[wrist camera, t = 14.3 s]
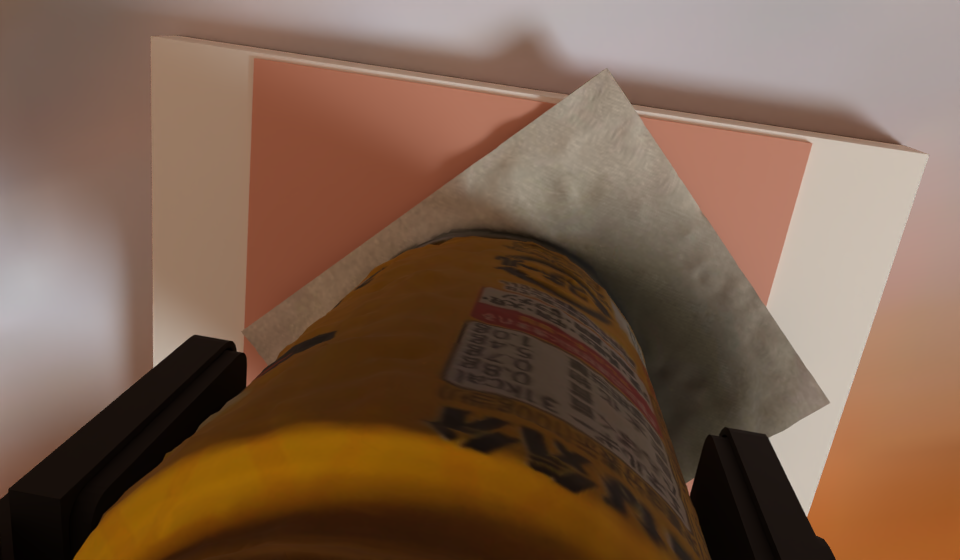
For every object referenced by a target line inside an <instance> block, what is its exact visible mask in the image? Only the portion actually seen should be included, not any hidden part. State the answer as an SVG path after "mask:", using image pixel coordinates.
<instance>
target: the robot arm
mask: <svg viewBox="0 0 960 560" xmlns="http://www.w3.org/2000/svg"><path fill="white" fill-rule="evenodd" d="M246 380H247V358H246V355H245V353H242V352H237V349H236V345H235V343H234V342H233V341H229V340H223V339H218V338H212V337H206V336H200V335H193V336H191V337H190V338H189V339H187V340H186V341H185V342H184V343H183V344H181V345H180V346H179V347H178V348H177V349H175V350H174V351H173V352H172V353H171V354H169V355H168V356H167V357H166V358H165V359H163V360H162V361H161V362H160V363H159V364H157V365H156V366H155V367H154V368H153V369H151V370H150V371H149V372H148V373H147V374H145V375H144V376H143V377H142V378H141V379H140V380H138V381H137V382H136V383H135V384H134V385H132V386H131V387H130V388H129V389H128V390H126V391H125V392H124V393H123V394H122V395H120V396H119V397H118V398H117V399H116V400H114V401H113V402H112V403H111V404H110V405H108V406H107V407H106V408H105V409H104V410H102V411H101V412H100V413H99V414H98V415H96V416H95V417H94V418H93V419H92V420H91V421H89V422H88V423H87V424H86V425H85V426H83V427H82V428H81V429H80V430H79V431H77V432H76V433H75V434H74V435H73V436H71V437H70V438H69V439H68V440H67V441H65V442H64V443H63V444H62V445H61V446H59V447H58V448H57V449H56V450H55V451H53V452H52V453H51V454H50V455H49V456H48V457H46V458H45V459H44V460H43V461H42V462H40V463H39V464H38V465H37V466H36V467H34V468H33V469H32V470H31V471H30V472H28V473H27V474H26V475H25V476H24V477H22V478H21V479H20V480H19V481H18V482H16V483H15V484H14V485H13V486H12V487H10V488H9V489H8V492H9V493H8V494H6V495H5V496H4V497H3V498H2V499H0V560H73V559H74V557H75V555H76V554H77V552H78V551H79V550H80V548H81V547H82V545H83V544H84V542H85V541H86V539H87V538H88V536H89V535H90V534H91V532H92V531H93V530H94V529H95V528H96V527H97V526H98V524H99V522H100V520H101V518H102V516H103V514H104V513H105V512H106V511H107V510H108V509H109V508H111V507H112V506H113V505H114V504H115V503H116V502H117V501H118V500H119V499H120V497H121V496H122V495H123V494H124V493H125V491H127V490H128V489H129V488H130V487H132V486H133V485H134V484H135V483H137V482H138V481H139V480H140V479H142V478H143V477H144V476H145V475H147V474H148V473H149V472H151V471H152V470H153V469H154V468H156V467H157V466H158V465H159V464H160V463H161V462H162V461H163V459H164V457H165V455H166V453H168V452H171V451H172V450H173V449H175V448H176V447H177V446H179V445H180V444H182V442H183V441H184V440H186V439H188V438H189V437H191V436H192V435H193V434H195V433H196V431H197V429H198V427H199V425H201V424H202V423H203V422H204V421H205V420H206V419H207V418H208V417H209V416H210V415H212V414H214V413H217V412H219V411H220V410H221V409H222V407H223V406H224V405H225V404H226V403H227V402H228V401H230V400H231V399H233V398H234V397H236V396H237V395H238V394H239V393H240V392H241V391H242V390H243V389H244V388H246ZM690 499H691V501H692V504H693V506H694V508H695V511H696V513H697V516H698V520H699V525H700V527H701V531H702V534H703V536H704V539H705V542H706V545H707V549H708V552H709V554H710V557H711V559H712V560H836V559H835V557H834V555H833V553H832V551H831V549H830V547H829V546H828V544H827V543H826V542H825V540H824V539H822V538H820V537H818V536H816V535H815V533H814V531H813V529H812V527H811V525H810V523H809V521H808V519H807V517H806V515H805V512H804V510H803V508H802V506H801V504H800V502H799V500H798V498H797V496H796V494H795V492H794V490H793V488H792V486H791V484H790V482H789V480H788V477H787V475H786V473H785V471H784V469H783V467H782V465H781V463H780V461H779V459H778V457H777V455H776V453H775V451H774V449H773V447H772V445H771V442H770V440H769V438H768V437H767V435H766V434H762V433H756V432H751V431H745V430H739V429H734V428H728V427H724V428H723V429H722V430H721V432H720V434H719V436H716V435H710V434H709V435H708V436H707V437H706V439H705V442H704V445H703V448H702V452H701V456H700V459H699V463H698V467H697V470H696V474H695V478H694V481H693V485H692V489H691V492H690Z"/></svg>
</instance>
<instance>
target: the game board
mask: <svg viewBox="0 0 960 560" xmlns="http://www.w3.org/2000/svg"><path fill="white" fill-rule="evenodd" d="M567 96H569V95H567V94H560V93H553V92H547V91H540V90H534V89H527V88H520V87H514V86H507V85H501V84H494V83H487V82H481V81H474V80H468V79H461V78H454V77H448V76H441V75H435V74H428V73H421V72H415V71H408V70H402V69H395V68H388V67H382V66H375V65H369V64H362V63H355V62H349V61H342V60H336V59H329V58H322V57H316V56H309V55H303V54H296V53H289V52H283V51H276V50H270V49H263V48H256V47H250V46H243V45H237V44H230V43H223V42H217V41H210V40H204V39H197V38H190V37H184V36H177V35H176V36H151V159H152V285H153V368H154V367H155V366H156V365H157V364H159V363H160V362H161V361H162V360H163V359H165V358H166V357H167V356H168V355H169V354H171V353H172V352H173V351H174V350H175V349H177V348H178V347H179V346H180V345H181V344H183V343H184V342H185V341H186V340H187V339H189V338H190V337H191V336H193V335H200V336H206V337H212V338H218V339H223V340H229V341H233V342H234V343H235V345H236V349H237V352H242V353H245V355H246V358H247V380H246V387H247V386H248V385H249V384H250V383H251V382H252V381H253V380H254V379H255V378H256V377H257V376H258V375H259V374H260V373H261V372H262V371H263V369H265V368H266V367H267V366H268V365H267V363H266V362H265V361H264V359H263V358H262V357H261V356H260V355H259V354H258V352H257V350H256V349H255V347H254V346H253V345H252V344H251V343H250V342H249V340H248V339H247V338H246V337H245V336H244V335H243V333H242V332H241V331H243V330H244V329H245V328H247V327H248V326H250V325H251V324H252V323H254V322H255V321H256V320H258V319H259V318H261V317H262V316H263V315H265V314H266V313H268V312H269V311H270V310H272V309H273V308H275V307H276V306H277V305H279V304H280V303H281V302H283V301H284V300H286V299H287V298H288V297H290V296H291V295H293V294H294V293H295V292H297V291H298V290H299V289H301V288H302V287H304V286H305V285H306V284H308V283H309V282H311V281H312V280H313V279H315V278H316V277H318V276H319V275H320V274H322V273H323V272H324V271H326V270H327V269H329V268H330V267H331V266H333V265H334V264H336V263H337V262H338V261H340V260H341V259H342V258H344V257H345V256H347V255H348V254H349V253H351V252H352V251H354V250H355V249H356V248H358V247H359V246H361V245H362V244H363V243H365V242H366V241H367V240H369V239H370V238H372V237H373V236H374V235H376V234H377V233H379V232H380V231H381V230H383V229H384V228H385V227H387V226H388V225H390V224H391V223H392V222H394V221H395V220H397V219H398V218H399V217H401V216H402V215H404V214H405V213H406V212H408V211H409V210H410V209H412V208H413V207H415V206H416V205H417V204H419V203H420V202H422V201H423V200H424V199H426V198H427V197H428V196H430V195H431V194H433V193H434V192H435V191H437V190H438V189H440V188H441V187H442V186H444V185H445V184H447V183H448V182H449V181H451V180H452V179H453V178H455V177H456V176H458V175H459V174H460V173H462V172H463V171H465V170H466V169H467V168H469V167H470V166H471V165H473V164H474V163H476V162H477V161H478V160H480V159H481V158H483V157H484V156H486V155H487V154H489V153H490V152H492V151H493V150H495V149H496V148H497V147H498V146H500V145H501V144H502V143H503V142H505V141H506V140H508V139H509V138H510V137H512V136H513V135H514V134H516V133H517V132H519V131H520V130H521V129H523V128H524V127H526V126H527V125H528V124H530V123H531V122H533V121H534V120H535V119H537V118H538V117H539V116H541V115H542V114H544V113H545V112H546V111H548V110H549V109H551V108H552V107H553V106H555V105H556V104H557V103H559V102H560V101H562V100H563V99H564V98H566V97H567ZM631 105H632V106H633V108H634V109H635V111H636V112H637V114H638V115H639V117H640V118H641V120H642V121H643V123H644V125H645V127H646V128H647V129H648V131H649V132H650V134H651V135H652V137H653V138H654V140H655V141H656V143H657V144H658V146H659V147H660V149H661V150H662V152H663V153H664V155H665V156H666V158H667V159H668V160H669V162H670V163H671V165H672V166H673V168H674V170H675V171H676V173H677V175H678V177H679V178H680V179H681V180H682V182H683V183H684V185H685V186H686V188H687V189H688V191H689V192H690V194H691V195H692V197H693V198H694V200H695V201H696V203H697V204H698V206H699V208H700V210H701V211H702V213H703V214H704V215H705V217H706V218H707V220H708V221H709V222H710V224H711V225H712V227H713V228H714V230H715V231H716V233H717V234H718V236H719V237H720V239H721V240H722V242H723V243H724V245H725V246H726V248H727V249H728V251H729V253H730V254H731V256H732V257H733V259H734V260H735V262H736V263H737V265H738V267H739V268H740V269H741V271H742V272H743V274H744V275H745V277H746V278H747V280H748V281H749V282H750V284H751V285H752V286H753V288H754V290H755V291H756V293H757V294H758V296H759V298H760V299H761V301H762V302H763V304H764V305H765V306H766V308H767V309H768V311H769V312H770V314H771V315H772V317H773V318H774V320H775V321H776V323H777V324H778V326H779V327H780V329H781V330H782V332H783V333H784V335H785V336H786V338H787V339H788V341H789V342H790V344H791V345H792V347H793V348H794V350H795V351H796V353H797V354H798V356H799V357H800V359H801V360H802V362H803V363H804V365H805V367H806V368H807V369H808V370H809V372H810V373H811V374H812V376H813V377H814V379H815V380H816V382H817V384H818V385H819V386H820V388H821V389H822V391H823V392H824V394H825V395H826V397H827V398H828V400H829V401H830V403H829V404H828V405H826V406H824V407H823V408H821V409H819V410H817V411H816V412H814V413H812V414H810V415H808V416H807V417H805V418H803V419H801V420H799V421H798V422H796V423H795V424H793V425H792V426H790V427H789V428H787V429H786V430H784V431H782V432H780V433H778V434H775V435H773V436H771V437H769V440H770V442H771V445H772V447H773V449H774V451H775V453H776V455H777V457H778V459H779V461H780V463H781V465H782V467H783V469H784V471H785V473H786V475H787V477H788V480H789V482H790V484H791V486H792V488H793V490H794V492H795V494H796V496H797V498H798V500H799V502H800V504H801V506H802V508H803V510H804V512H805V515H806V517H807V516H808V513H809V510H810V507H811V504H812V501H813V498H814V495H815V492H816V489H817V486H818V483H819V480H820V477H821V474H822V471H823V468H824V465H825V462H826V459H827V456H828V453H829V451H830V448H831V445H832V442H833V439H834V436H835V433H836V430H837V427H838V424H839V421H840V418H841V415H842V412H843V409H844V406H845V403H846V400H847V397H848V394H849V391H850V388H851V385H852V382H853V379H854V376H855V373H856V370H857V368H858V365H859V362H860V359H861V356H862V353H863V350H864V347H865V344H866V341H867V338H868V335H869V332H870V329H871V326H872V323H873V320H874V317H875V314H876V311H877V308H878V305H879V302H880V299H881V296H882V293H883V290H884V287H885V285H886V282H887V279H888V276H889V273H890V270H891V267H892V264H893V261H894V258H895V255H896V252H897V249H898V246H899V243H900V240H901V237H902V234H903V231H904V228H905V225H906V222H907V219H908V216H909V213H910V210H911V207H912V205H913V202H914V199H915V196H916V193H917V190H918V187H919V184H920V181H921V178H922V175H923V172H924V169H925V166H926V163H927V160H928V157H929V154H926V153H923V152H921V151H918V150H915V149H913V148H910V147H907V146H903V145H897V144H890V143H884V142H877V141H870V140H864V139H857V138H851V137H844V136H837V135H831V134H824V133H818V132H811V131H804V130H798V129H791V128H785V127H778V126H771V125H765V124H758V123H752V122H745V121H738V120H732V119H725V118H719V117H712V116H705V115H699V114H692V113H686V112H679V111H672V110H666V109H659V108H652V107H646V106H639V105H633V104H631ZM693 481H694V479H692V480H690V481H689V482H687V483H686V486H687V489H688V492H689V496H690V492H691V489H692V485H693Z"/></svg>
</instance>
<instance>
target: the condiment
mask: <svg viewBox="0 0 960 560" xmlns="http://www.w3.org/2000/svg"><path fill="white" fill-rule="evenodd" d="M241 332H242V333H243V335H244V336H245V337H246V338H247V339H248V340H249V342H250V343H251V344H252V345H253V346H254V347H255V349H256V350H257V352H258V354H259V355H260V356H261V357H262V358H263V359H264V361H265V362H266V363H267V365H268V366H267V367H266V368H265V369H263V371H262V372H261V373H260V374H259V375H258V376H257V377H256V378H255V379H254V380H253V381H252V382H251V383H250V384H249V385H248V386H247V387H246V388H244V389H243V390H242V391H241V392H240V393H239V394H238V395H237V396H236V397H234V398H233V399H231V400H230V401H228V402H227V403H226V404H225V405H224V406H223V407H222V409H221V410H220V411H219V412H217V413H214V414H212V415H210V416H209V417H208V418H207V419H206V420H205V421H204V422H203V423H202V424H201V425H199V427H198V429H197V431H196V433H195V434H193V435H192V436H191V437H189V438H188V439H186V440H184V441H183V442H182V444H180V445H179V446H177V447H176V448H175V449H173V450H172V451H171V452H168V453H166V455H165V457H164V459H163V461H162V462H161V463H160V464H159V465H158V466H157V467H156V468H154V469H153V470H152V471H151V472H149V473H148V474H147V475H145V476H144V477H143V478H142V479H140V480H139V481H138V482H137V483H135V484H134V485H133V486H132V487H130V488H129V489H128V490H127V491H125V493H124V494H123V495H122V496H121V497H120V499H119V500H118V501H117V502H116V503H115V504H114V505H113V506H112V507H111V508H109V509H108V510H107V511H106V512H105V513H104V514H103V516H102V518H101V520H100V522H99V524H98V526H97V527H96V528H95V529H94V530H93V531H92V532H91V534H90V535H89V536H88V538H87V539H86V541H85V542H84V544H83V545H82V547H81V548H80V550H79V551H78V552H77V554H76V555H75V557H74V559H73V560H712V559H711V557H710V554H709V552H708V549H707V545H706V542H705V539H704V536H703V534H702V531H701V527H700V525H699V520H698V516H697V513H696V511H695V508H694V506H693V504H692V501H691V499H690V496H689V492H688V489H687V486H686V483H687V482H689V481H690V480H692V479H694V478H695V474H696V470H697V467H698V463H699V459H700V456H701V452H702V448H703V445H704V442H705V439H706V437H707V436H708V435H709V434H710V435H716V436H719V434H720V432H721V430H722V429H723V428H724V427H728V428H734V429H739V430H745V431H751V432H756V433H762V434H766V435H767V437H768V438H769V437H771V436H773V435H775V434H778V433H780V432H782V431H784V430H786V429H787V428H789V427H790V426H792V425H793V424H795V423H796V422H798V421H799V420H801V419H803V418H805V417H807V416H808V415H810V414H812V413H814V412H816V411H817V410H819V409H821V408H823V407H824V406H826V405H828V404H829V403H830V401H829V400H828V398H827V397H826V395H825V394H824V392H823V391H822V389H821V388H820V386H819V385H818V384H817V382H816V380H815V379H814V377H813V376H812V374H811V373H810V372H809V370H808V369H807V368H806V367H805V365H804V363H803V362H802V360H801V359H800V357H799V356H798V354H797V353H796V351H795V350H794V348H793V347H792V345H791V344H790V342H789V341H788V339H787V338H786V336H785V335H784V333H783V332H782V330H781V329H780V327H779V326H778V324H777V323H776V321H775V320H774V318H773V317H772V315H771V314H770V312H769V311H768V309H767V308H766V306H765V305H764V304H763V302H762V301H761V299H760V298H759V296H758V294H757V293H756V291H755V290H754V288H753V286H752V285H751V284H750V282H749V281H748V280H747V278H746V277H745V275H744V274H743V272H742V271H741V269H740V268H739V267H738V265H737V263H736V262H735V260H734V259H733V257H732V256H731V254H730V253H729V251H728V249H727V248H726V246H725V245H724V243H723V242H722V240H721V239H720V237H719V236H718V234H717V233H716V231H715V230H714V228H713V227H712V225H711V224H710V222H709V221H708V220H707V218H706V217H705V215H704V214H703V213H702V211H701V210H700V208H699V206H698V204H697V203H696V201H695V200H694V198H693V197H692V195H691V194H690V192H689V191H688V189H687V188H686V186H685V185H684V183H683V182H682V180H681V179H680V178H679V177H678V175H677V173H676V171H675V170H674V168H673V166H672V165H671V163H670V162H669V160H668V159H667V158H666V156H665V155H664V153H663V152H662V150H661V149H660V147H659V146H658V144H657V143H656V141H655V140H654V138H653V137H652V135H651V134H650V132H649V131H648V129H647V128H646V127H645V125H644V123H643V121H642V120H641V118H640V117H639V115H638V114H637V112H636V111H635V109H634V108H633V106H632V105H631V103H630V102H629V100H628V99H627V97H626V96H625V94H624V93H623V91H622V90H621V88H620V87H619V85H618V84H617V82H616V81H615V79H614V78H613V76H612V75H611V73H610V72H609V70H608V69H605V70H603V71H602V72H600V73H599V74H598V75H596V76H595V77H594V78H592V79H591V80H589V81H588V82H587V83H585V84H584V85H582V86H581V87H580V88H578V89H577V90H576V91H574V92H573V93H571V94H570V95H569V96H567V97H566V98H564V99H563V100H562V101H560V102H559V103H557V104H556V105H555V106H553V107H552V108H551V109H549V110H548V111H546V112H545V113H544V114H542V115H541V116H539V117H538V118H537V119H535V120H534V121H533V122H531V123H530V124H528V125H527V126H526V127H524V128H523V129H521V130H520V131H519V132H517V133H516V134H514V135H513V136H512V137H510V138H509V139H508V140H506V141H505V142H503V143H502V144H501V145H500V146H498V147H497V148H496V149H495V150H493V151H492V152H490V153H489V154H487V155H486V156H484V157H483V158H481V159H480V160H478V161H477V162H476V163H474V164H473V165H471V166H470V167H469V168H467V169H466V170H465V171H463V172H462V173H460V174H459V175H458V176H456V177H455V178H453V179H452V180H451V181H449V182H448V183H447V184H445V185H444V186H442V187H441V188H440V189H438V190H437V191H435V192H434V193H433V194H431V195H430V196H428V197H427V198H426V199H424V200H423V201H422V202H420V203H419V204H417V205H416V206H415V207H413V208H412V209H410V210H409V211H408V212H406V213H405V214H404V215H402V216H401V217H399V218H398V219H397V220H395V221H394V222H392V223H391V224H390V225H388V226H387V227H385V228H384V229H383V230H381V231H380V232H379V233H377V234H376V235H374V236H373V237H372V238H370V239H369V240H367V241H366V242H365V243H363V244H362V245H361V246H359V247H358V248H356V249H355V250H354V251H352V252H351V253H349V254H348V255H347V256H345V257H344V258H342V259H341V260H340V261H338V262H337V263H336V264H334V265H333V266H331V267H330V268H329V269H327V270H326V271H324V272H323V273H322V274H320V275H319V276H318V277H316V278H315V279H313V280H312V281H311V282H309V283H308V284H306V285H305V286H304V287H302V288H301V289H299V290H298V291H297V292H295V293H294V294H293V295H291V296H290V297H288V298H287V299H286V300H284V301H283V302H281V303H280V304H279V305H277V306H276V307H275V308H273V309H272V310H270V311H269V312H268V313H266V314H265V315H263V316H262V317H261V318H259V319H258V320H256V321H255V322H254V323H252V324H251V325H250V326H248V327H247V328H245V329H244V330H243V331H241Z"/></svg>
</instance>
